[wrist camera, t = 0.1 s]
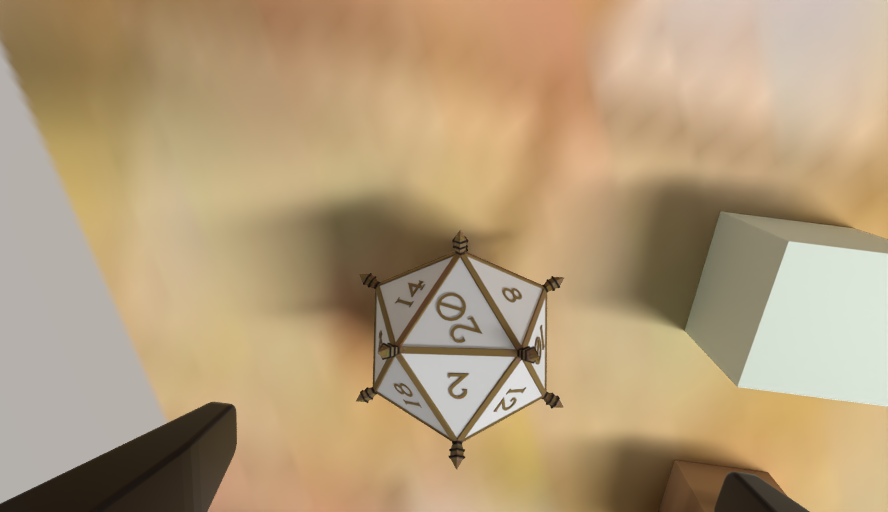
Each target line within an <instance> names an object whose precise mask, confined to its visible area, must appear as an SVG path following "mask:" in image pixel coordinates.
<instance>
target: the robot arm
mask: <svg viewBox="0 0 888 512" xmlns="http://www.w3.org/2000/svg"><path fill="white" fill-rule="evenodd" d="M236 444H237V422H236V409H235V406H233V405H232V404H227V403H220V402H210V403H208V404H206V405H204V406H202V407H200V408H198V409H195V410H193V411H191V412H189V413H187V414H185V415H183V416H181V417H179V418H177V419H175V420H173V421H171V422H169V423H167V424H164V425H162V426H160V427H159V428H157V429H154V430H152V431H150V432H148V433H146V434H144V435H142V436H140V437H138V438H136V439H134V440H132V441H129V442H127V443H125V444H123V445H121V446H119V447H117V448H115V449H113V450H111V451H109V452H107V453H104V454H102V455H100V456H99V457H96V458H94V459H92V460H90V461H88V462H86V463H84V464H82V465H80V466H78V467H76V468H73V469H71V470H69V471H67V472H65V473H63V474H61V475H59V476H57V477H55V478H53V479H51V480H49V481H47V482H44V483H43V484H40V485H38V486H36V487H34V488H32V489H30V490H28V491H26V492H24V493H22V494H20V495H18V496H16V497H13V498H11V499H9V500H7V501H5V502H3V503H1V504H0V512H207V511H208V509H209V507H210V505H211V503H212V501H213V499H214V496H215V494H216V492H217V490H218V488H219V486H220V484H221V481H222V479H223V477H224V475H225V473H226V471H227V469H228V466H229V464H230V462H231V460H232V458H233V456H234V453H235V450H236ZM714 512H809V511H808V510H807V509H805V508H804V507H802V506H801V505H799V504H798V503H796V502H795V501H793V500H792V499H790V498H789V497H787V496H786V495H784V494H783V493H781V492H780V491H779V490H777V489H776V488H774V487H773V486H771V485H770V484H768V483H767V482H765V481H764V480H762V479H761V478H759V477H758V476H756V475H754V474H750V473H743V472H736V471H732V472H729V473H728V474H727V475H726V477H725V479H724V482H723V484H722V487H721V490H720V492H719V495H718V498H717V501H716V503H715V507H714Z"/></svg>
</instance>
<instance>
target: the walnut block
mask: <svg viewBox="0 0 888 512" xmlns="http://www.w3.org/2000/svg"><path fill="white" fill-rule="evenodd" d="M732 471H736V472H743V473H750V474H754V475H756V476H758V477H759V478H761V479H762V480H764V481H765V482H767V483H768V484H770V485H771V486H773V487H774V488H776V489H777V490H779V491H780V492H781V493H783V494H784V495H786V494H785V493H784V492H783V490H782V489H781V488H780V487H779V485H778V484H777V483H776V482H775V480H774V479H773V478H772V477H771V475H770V474H769V473H768V472H761V471H753V470H746V469H738V468H731V467H723V466H716V465H708V464H701V463H693V462H686V461H678V460H675V461H674V464H673V467H672V470H671V473H670V476H669V479H668V482H667V485H666V489H665V492H664V495H663V498H662V501H661V504H660V507H659V510H658V512H714V507H715V503H716V501H717V498H718V495H719V492H720V490H721V487H722V484H723V482H724V479H725V477H726V475H727V474H728V473H729V472H732ZM786 496H787V495H786Z"/></svg>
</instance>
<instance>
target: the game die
mask: <svg viewBox="0 0 888 512" xmlns="http://www.w3.org/2000/svg"><path fill="white" fill-rule="evenodd" d="M452 242H454V245H453V248H455V252H453V253H450V254H448V255H446V256H443V257H441V258H438V259H436V260H433V261H431V262H429V263H426V264H424V265H421V266H419V267H417V268H414V269H412V270H409V271H407V272H404V273H402V274H400V275H397V276H395V277H392V278H390V279H387V280H385V281H383V282H378V281H377V279H376V277H373V276H372V274H371V273H370V274H359V275H360V277H361V279H362V281H363V284H364V285H368V287H372V288H374V289H375V323H374V361H373V387H372V388H368V387H367V388H366V389H365V390H364V391H363V390H362V391H361V392H360V395H359V397H358V398H357V400H356V401H360V402H367V403H368V401H369V400H370V399H373V397H374V396H375V395H376V394H378V395H380V396H382V397H383V398H385V399H386V400H388V401H389V402H391V403H393V404H394V405H396V406H397V407H399V408H400V409H402V410H403V411H405V412H407V413H408V414H410V415H411V416H413V417H414V418H416V419H418V420H419V421H421V422H422V423H424V424H425V425H427V426H429V427H430V428H432V429H433V430H435V431H436V432H438V433H439V434H441V435H443V436H444V437H446V438H447V439H449V440H450V441H452V444H453V445H452V447H451V449H450V450H449V451H451V454H450V456H449V458H450V459H451V460H452V462H453V464H454V466H455V468H456V469H457V468H458V467H459V465H460V463H461V461H462V460H463V459H464V458H465V456H463V452H464V451H465V449H463V447H462V442H464V441H466V440H467V439H469V438H471V437H473V436H475V435H476V434H478V433H480V432H482V431H484V430H485V429H487V428H489V427H491V426H493V425H494V424H496V423H498V422H500V421H502V420H503V419H505V418H507V417H509V416H511V415H512V414H514V413H516V412H518V411H520V410H521V409H523V408H525V407H527V406H529V405H531V404H532V403H534V402H536V401H538V400H540V399H544V401H545V402H546V405H550V406H551V408H553V407H563V405H562V403H561V402H560V400H559V399H560V398H559V397H558V396H555V395H554V394H553V393H548V392H547V391H546V373H547V292H548V291H551V290H552V291H554V290H555V289H556V288H560V284H561V283H562V281H563V279H564V278H562V277H553V276H552V278H551V279H549V280H548V279H547V282H546V283H545V284H544V285H541V284H538V283H536V282H534V281H531V280H529V279H527V278H524V277H522V276H520V275H518V274H515V273H513V272H511V271H508V270H506V269H504V268H502V267H499V266H497V265H495V264H492V263H490V262H488V261H486V260H483V259H481V258H479V257H476V256H474V255H472V254H469V253H467V251H468V249H467V248H468V246H467V245H466V244H467V242H468V240H467V238H466V237H465V236H464V235H463V233H462V232H461V230H460V231H459V233H458V234H457V236H456V237H455V238H454V239H453V240H452Z"/></svg>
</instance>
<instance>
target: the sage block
mask: <svg viewBox="0 0 888 512" xmlns="http://www.w3.org/2000/svg"><path fill="white" fill-rule="evenodd" d="M685 332H686V333H687V334H688V335H689V336H690V337H691V338H692V339H693V340H694V341H695V342H696V343H697V345H698V346H699V347H700V348H701V349H702V350H703V351H704V352H705V353H706V354H707V355H708V356H709V357H710V358H711V359H712V360H713V362H714V363H715V364H716V365H717V366H718V367H719V368H720V369H721V370H722V371H723V372H724V373H725V374H726V375H727V376H728V378H729V379H730V380H731V381H732V382H733V383H734V384H735V385H736V386H737V387H742V388H749V389H757V390H765V391H772V392H780V393H788V394H795V395H803V396H811V397H818V398H826V399H834V400H841V401H849V402H857V403H864V404H872V405H880V406H887V407H888V239H885V238H882V237H879V236H876V235H873V234H870V233H867V232H864V231H861V230H858V229H855V228H848V227H840V226H832V225H825V224H817V223H809V222H801V221H793V220H785V219H777V218H769V217H761V216H753V215H745V214H737V213H729V212H720V215H719V218H718V222H717V225H716V228H715V232H714V235H713V238H712V242H711V245H710V248H709V252H708V255H707V258H706V262H705V265H704V268H703V272H702V275H701V278H700V282H699V285H698V288H697V292H696V295H695V298H694V302H693V305H692V308H691V312H690V315H689V318H688V322H687V325H686V328H685Z"/></svg>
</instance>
